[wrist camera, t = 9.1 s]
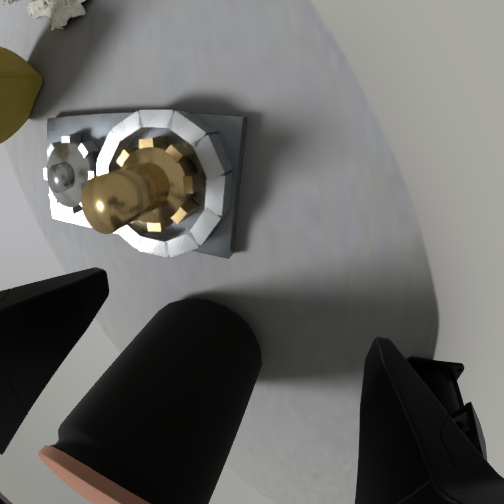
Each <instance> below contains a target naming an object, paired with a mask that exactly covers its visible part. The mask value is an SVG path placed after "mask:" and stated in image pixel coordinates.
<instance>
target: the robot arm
mask: <svg viewBox="0 0 504 504" xmlns="http://www.w3.org/2000/svg"><path fill="white" fill-rule="evenodd" d="M108 295H109V285H108V278H107V273H106V271H105V270H103V269H100V268H97V267H94V268H90V269H86V270H82V271H78V272H74V273H70V274H66V275H62V276H58V277H54V278H50V279H46V280H42V281H38V282H34V283H30V284H26V285H22V286H19V287H15V288H12V289H7V290H3V291H0V454H1V455H2V454H3V453H4V452H5V450H6V448H7V446H8V445H9V443H10V441H11V440H12V438H13V436H14V435H15V433H16V431H17V430H18V428H19V427H20V425H21V423H22V422H23V420H24V419H25V417H26V415H27V414H28V412H29V410H30V409H31V407H32V406H33V404H34V403H35V401H36V400H37V398H38V397H39V395H40V394H41V392H42V391H43V389H44V388H45V386H46V385H47V383H48V382H49V381H50V379H51V377H52V376H53V375H54V373H55V372H56V371H57V369H58V368H59V366H60V365H61V364H62V362H63V361H64V359H65V358H66V357H67V355H68V354H69V352H70V351H71V350H72V348H73V347H74V346H75V344H76V343H77V342H78V340H79V339H80V338H81V336H82V335H83V334H84V332H85V331H86V330H87V328H88V327H89V325H90V323H91V322H92V321H93V319H94V317H95V316H96V314H97V313H98V311H99V309H100V308H101V306H102V305H103V303H104V302H105V300H106V299H107V297H108ZM410 363H411V364H410ZM463 370H464V366H463V364H462V363H453V362H444V361H436V360H428V359H421V358H409V359H407V360H406V359H405V358H404V357H403V355H402V354H401V353H400V352H399V350H398V349H397V348H396V347H395V345H394V344H393V343H392V342H391V341H390V340H389V339H388V338H382V337H376V338H375V339H374V341H373V343H372V346H371V348H370V350H369V352H368V354H367V357H366V360H365V366H364V376H363V385H362V394H361V402H360V432H359V457H358V473H357V486H356V497H355V504H504V478H502V477H501V476H500V475H499V474H497V472H496V471H495V470H494V469H493V468H492V467H491V465H489V463H488V462H487V454H486V444H485V439H484V436H483V432H482V429H481V425H480V422H479V419H478V417H477V415H476V412H475V410H474V408H473V405H472V403H471V402H469V403H467V404H465V406H464V404H463V400H462V396H461V393H460V390H459V386H458V383H457V379H458V378H459V376H460V375H461V373H462V372H463ZM0 504H12V503H11V502H10V501H9V500H8V499H7V498H6V497H5V496H4V495H3V494H2V493H1V492H0Z"/></svg>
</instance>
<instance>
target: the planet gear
mask: <svg viewBox="0 0 504 504" xmlns="http://www.w3.org/2000/svg"><path fill="white" fill-rule="evenodd" d="M194 153H195V152H193V151H192V150H191V149H190V148H189V147H188V146H187V145H186V144H185V143H184V142H183V143H176V144H171V145H170V146H168V145H167V136H164V137H155V138H146V139H139V147H135V148H129V149H124V150H123V152H122V153H121V155H120V156H119V158H118V159H117V161H116V162H117V163H118V164H119V165H120V166H121V167H122V168H121V169H119V170H116V171H112V172H109V173H105V174H102V175H98V176H95V177H92V178H91V179H89V180H88V181H87V182H86V184H85V185H84V187H83V190H82V194H81V206H82V211H83V214H84V216H85V218H86V220H87V222H88V223H89V224H90V226H91V227H92V228H94V229H95V230H96V231H98V232H100V233H103V234H110V233H113V232H115V231H117V230H119V229H120V228H122V227H124V226H126V225H127V224H129V223H133V222H135V221H137V220H139V219H140V220H141V221H144V222H147V227H148V231H156V232H162V231H163V230H165V229H166V228H168V227H169V226H171V225H172V224H174V222H175V223H176V224H177V225H178V224H179V223H181V222H182V221H183V220H185V219H186V218H188V217H189V216H190V215H191V214H192V213H193V212H194V211H195V209H196V208H197V207H198V205H197V204H196V203H195V202H194V201H193V200H192V199H193V196H194V194H195V192H197V191H199V190H201V189H203V188H204V173H203V172H195V171H194V168H193V165H192V164H191V162H190V160H189V159H190V158H191V157H192V156H193V155H194Z"/></svg>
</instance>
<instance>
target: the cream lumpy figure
mask: <svg viewBox="0 0 504 504" xmlns="http://www.w3.org/2000/svg"><path fill="white" fill-rule="evenodd" d="M3 1H4V2H5V0H3ZM10 1H11V2H10ZM14 1H16V2H17V1H19V0H9V1H7V2H8V3H9V4H11V3H13V2H14ZM20 1H21V0H20ZM84 1H85V0H31V1H30V3H29V2H28V5H29V6H28V5H27V6H26V9H27V10H28V12H29V11H30V12H29V13H28V14H29V16H30V17H32V18H34V19H36V18H37V17H39V16H41V17H42V16H43V15H46V16H47V17H49V18H50V20H51V21H52V23H51V26H52V28H51V31H53V30H54V29H55V28H56V29H64V28H62V27H61V26H65V25H66V24H67V21H68V19H69V18H70V17H76V16H79V15H85V14H86V12H85V9H83V8H84V7H83V6H82V4H81V3H82V2H84ZM4 5H5V4H4Z"/></svg>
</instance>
